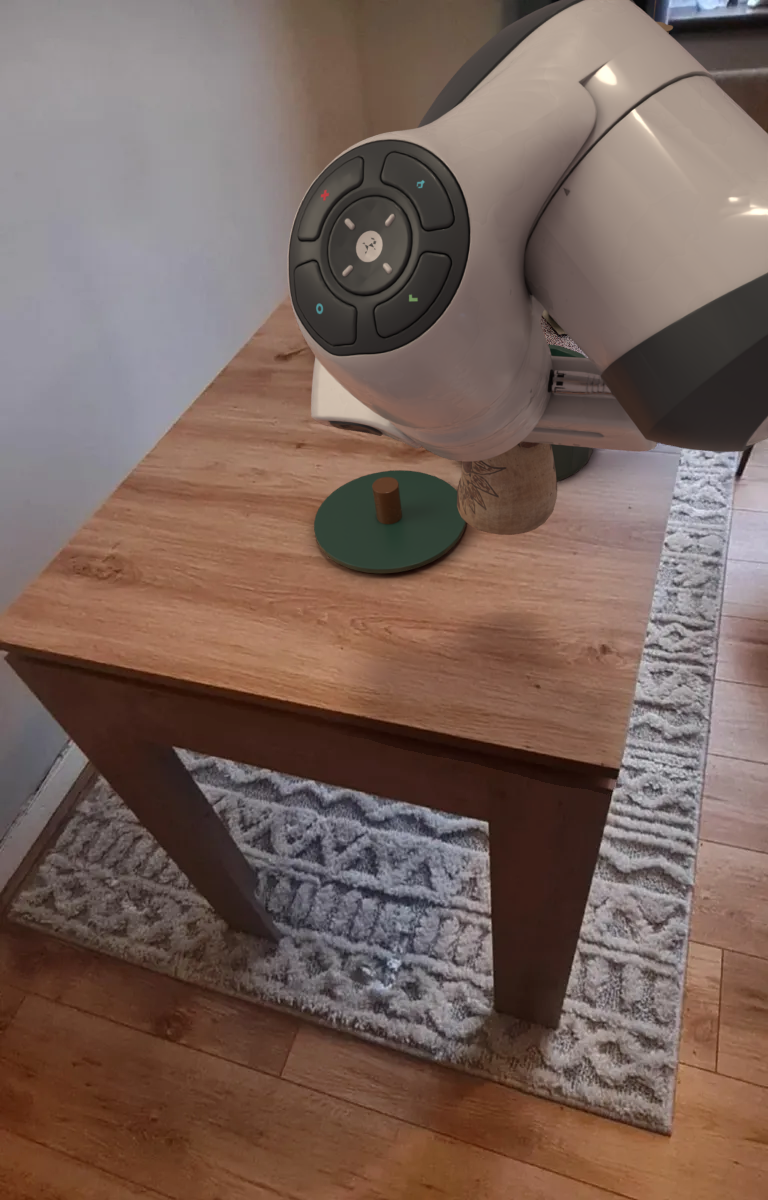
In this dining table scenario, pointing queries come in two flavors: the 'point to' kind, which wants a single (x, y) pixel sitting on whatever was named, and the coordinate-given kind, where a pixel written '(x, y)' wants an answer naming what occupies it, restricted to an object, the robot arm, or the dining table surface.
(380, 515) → the lid
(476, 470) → the figurine
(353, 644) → the dining table surface
